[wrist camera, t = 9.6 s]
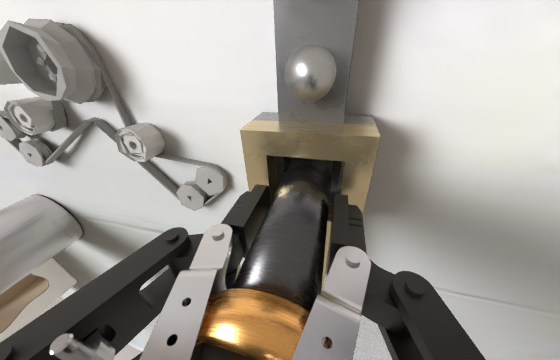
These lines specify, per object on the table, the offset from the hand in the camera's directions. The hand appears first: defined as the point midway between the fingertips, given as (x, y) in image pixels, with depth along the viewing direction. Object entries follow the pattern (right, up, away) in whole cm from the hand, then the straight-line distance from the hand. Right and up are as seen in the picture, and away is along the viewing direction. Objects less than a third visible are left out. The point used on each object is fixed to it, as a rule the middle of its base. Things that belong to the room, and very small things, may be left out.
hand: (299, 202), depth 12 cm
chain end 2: (+2, -1, +7) cm, 7 cm away
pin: (+1, +3, +4) cm, 5 cm away
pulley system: (-19, +8, +8) cm, 22 cm away
